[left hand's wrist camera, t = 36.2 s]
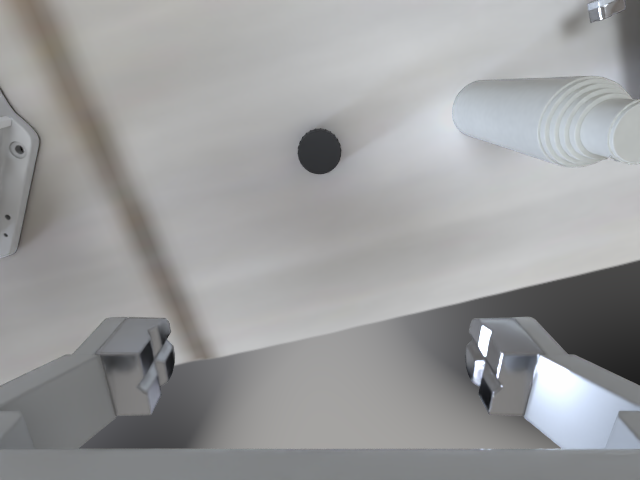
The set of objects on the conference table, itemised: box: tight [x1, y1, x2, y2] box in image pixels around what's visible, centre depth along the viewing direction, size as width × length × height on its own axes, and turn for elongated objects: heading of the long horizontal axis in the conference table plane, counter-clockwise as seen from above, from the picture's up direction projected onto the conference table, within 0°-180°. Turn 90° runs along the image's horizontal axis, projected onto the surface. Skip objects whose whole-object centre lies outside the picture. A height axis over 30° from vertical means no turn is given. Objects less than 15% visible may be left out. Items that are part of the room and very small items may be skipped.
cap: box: [298, 128, 341, 174], centre depth 39 cm, size 4×4×2 cm
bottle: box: [452, 76, 640, 167], centre depth 29 cm, size 5×5×21 cm
